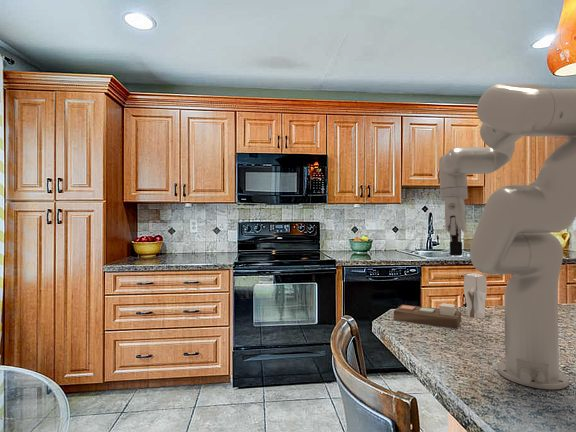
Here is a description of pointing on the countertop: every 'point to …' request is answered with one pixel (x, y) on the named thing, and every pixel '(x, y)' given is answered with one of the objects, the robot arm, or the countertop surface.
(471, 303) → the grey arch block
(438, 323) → the console
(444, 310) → the key cream
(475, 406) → the countertop surface
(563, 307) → the countertop surface
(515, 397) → the countertop surface
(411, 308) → the key terracotta
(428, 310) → the key sage
